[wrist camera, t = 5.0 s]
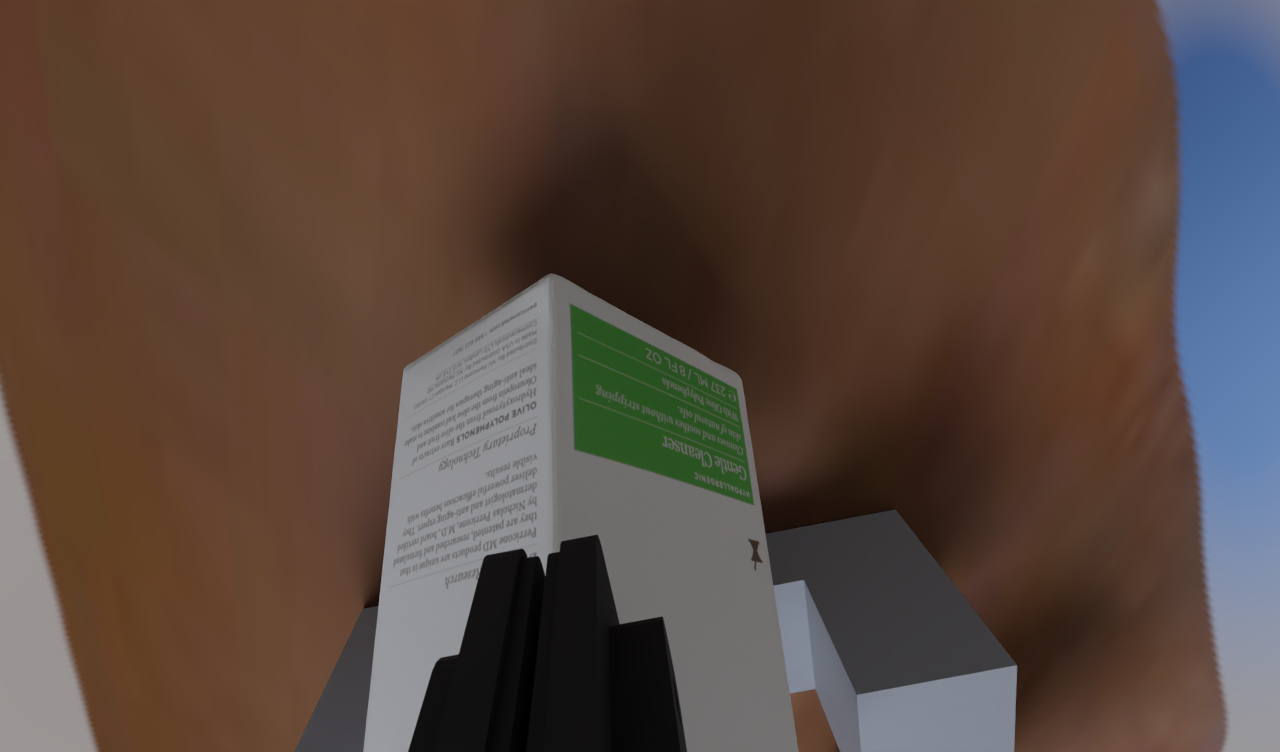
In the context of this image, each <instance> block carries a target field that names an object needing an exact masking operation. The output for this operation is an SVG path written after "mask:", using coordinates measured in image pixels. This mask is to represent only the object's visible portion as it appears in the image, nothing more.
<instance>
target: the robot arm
mask: <svg viewBox="0 0 1280 752" xmlns="http://www.w3.org/2000/svg"><path fill="white" fill-rule="evenodd" d="M408 752H687V748H686V741H685V734H684V727H683V721H682V714H681V708H680V702H679V696H678V690H677V684H676V678H675V673H674V668H673V662H672V657H671V652H670V647H669V642H668V637H667V632H666V628H665V623H664V619H663V616H662V617H656V618H651V619H646V620H640V621H635V622H629V623H624V624H620V623H619V619H618V615H617V610H616V606H615V602H614V598H613V593H612V589H611V585H610V580H609V576H608V572H607V567H606V563H605V559H604V554H603V550H602V546H601V542H600V539H599V536H598V535H592V536H587V537H581V538H576V539H571V540H565V541H562V542H561V544H560V552H555V553H550V554H548V558H547V567H546V576H545V573H544V570H543V566H542V563H541V560H540V558H539V556H534V557H527V554H526V552H525V550H524V549H517V550H512V551H506V552H501V553H495V554H490V555H486V556H485V557H484V559H483V562H482V566H481V570H480V574H479V578H478V582H477V586H476V589H475V593H474V597H473V601H472V605H471V609H470V613H469V616H468V620H467V624H466V628H465V632H464V636H463V640H462V644H461V647H460V651H459V654H457V655H452V656H447V657H441V658H440V659H439V660H438V661H437V662H436V663H435V666H434V668H433V670H432V673H431V676H430V680H429V683H428V686H427V690H426V693H425V696H424V700H423V703H422V707H421V710H420V713H419V717H418V720H417V723H416V727H415V730H414V733H413V737H412V740H411V743H410V747H409V750H408Z"/></svg>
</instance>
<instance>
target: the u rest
mask: <svg viewBox="0 0 1280 752" xmlns="http://www.w3.org/2000/svg"><path fill="white" fill-rule="evenodd" d="M766 541H767V548H768V554H769V561H770V567H771V574H772V581H773V587H774V594H775V601H776V608H777V614H778V620H779V626H780V632H781V640H782V647H783V653H784V659H785V666H786V673H787V680H788V686H789V692H790V693H796V692H801V691H806V690H812V689H816V692H817V694H818V697H819V699H820V702H821V704H822V707H823V710H824V712H825V715H826V717H827V720H828V722H829V725H830V727H831V730H832V733H833V735H834V738H835V740H836V743H837V745H838V748H839V750H840V752H1014V741H1015V713H1016V686H1017V664H1016V663H1015V662H1014V660H1013V659H1012V658H1011V657H1010V655H1009V654H1008V653H1007V651H1006V650H1005V649H1004V648H1003V646H1002V645H1001V644H1000V642H999V641H998V640H997V639H996V637H995V636H994V635H993V633H992V632H991V631H990V630H989V628H988V627H987V626H986V625H985V623H984V622H983V621H982V619H981V618H980V617H979V616H978V614H977V613H976V612H975V610H974V609H973V608H972V607H971V605H970V604H969V603H968V601H967V600H966V599H965V598H964V596H963V595H962V594H961V593H960V591H959V590H958V589H957V587H956V586H955V585H954V584H953V582H952V581H951V580H950V578H949V577H948V576H947V575H946V573H945V572H944V571H943V569H942V568H941V567H940V566H939V564H938V563H937V562H936V561H935V559H934V558H933V557H932V555H931V554H930V553H929V552H928V550H927V549H926V548H925V546H924V545H923V544H922V543H921V541H920V540H919V539H918V537H917V536H916V535H915V534H914V532H913V531H912V530H911V529H910V527H909V526H908V525H907V523H906V522H905V521H904V520H903V518H902V517H901V516H900V514H899V513H898V512H897V511H896V510H890V511H885V512H879V513H874V514H869V515H863V516H858V517H853V518H847V519H842V520H837V521H831V522H826V523H820V524H815V525H810V526H804V527H799V528H794V529H788V530H783V531H778V532H772V533H767V534H766ZM377 616H378V606H375V607H370V608H364V609H363V610H362V612H361V614H360V616H359V618H358V620H357V622H356V624H355V626H354V629H353V631H352V633H351V635H350V637H349V639H348V641H347V643H346V645H345V647H344V649H343V652H342V654H341V656H340V658H339V660H338V662H337V664H336V666H335V668H334V670H333V672H332V675H331V677H330V679H329V681H328V683H327V685H326V687H325V689H324V691H323V693H322V695H321V698H320V700H319V702H318V704H317V706H316V708H315V710H314V712H313V714H312V716H311V718H310V721H309V723H308V725H307V727H306V729H305V731H304V733H303V735H302V737H301V739H300V741H299V744H298V746H297V748H296V750H295V752H363V750H364V740H365V730H366V721H367V711H368V702H369V693H370V684H371V675H372V665H373V654H374V644H375V635H376V625H377Z"/></svg>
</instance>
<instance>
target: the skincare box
mask: <svg viewBox="0 0 1280 752" xmlns="http://www.w3.org/2000/svg"><path fill="white" fill-rule="evenodd" d="M592 535H598V536H599V539H600V542H601V546H602V550H603V554H604V559H605V563H606V567H607V572H608V576H609V580H610V585H611V589H612V593H613V598H614V602H615V606H616V610H617V615H618V619H619V623H620V624H624V623H629V622H635V621H640V620H646V619H651V618H656V617H662V616H663V619H664V623H665V628H666V632H667V637H668V642H669V647H670V652H671V657H672V662H673V668H674V673H675V678H676V684H677V690H678V696H679V702H680V708H681V714H682V721H683V727H684V734H685V741H686V748H687V752H799V751H798V746H797V739H796V732H795V725H794V718H793V711H792V704H791V698H790V692H789V686H788V680H787V673H786V666H785V659H784V653H783V647H782V640H781V632H780V626H779V620H778V614H777V608H776V601H775V594H774V587H773V581H772V574H771V567H770V561H769V554H768V548H767V541H766V534H765V527H764V521H763V514H762V507H761V501H760V494H759V488H758V482H757V476H756V469H755V462H754V455H753V448H752V442H751V436H750V430H749V425H748V417H747V409H746V403H745V396H744V390H743V384H742V380H741V378H740V376H739V375H738V374H737V373H736V372H734V371H732V370H730V369H728V368H727V367H725V366H722V365H720V364H718V363H715V362H713V361H712V360H710V359H709V358H707V357H705V356H704V355H702V354H701V353H699V352H697V351H696V350H694V349H692V348H690V347H689V346H687V345H685V344H683V343H681V342H679V341H677V340H675V339H673V338H671V337H669V336H668V335H666V334H664V333H662V332H660V331H659V330H657V329H655V328H653V327H651V326H649V325H647V324H646V323H644V322H642V321H640V320H638V319H636V318H635V317H633V316H631V315H629V314H627V313H625V312H624V311H622V310H620V309H618V308H616V307H614V306H613V305H611V304H609V303H607V302H606V301H604V300H602V299H600V298H598V297H596V296H594V295H592V294H591V293H589V292H587V291H586V290H584V289H582V288H581V287H579V286H577V285H576V284H574V283H572V282H570V281H569V280H567V279H565V278H563V277H561V276H558V275H555V274H548V275H546V276H545V277H543V278H542V279H540V280H539V281H537V282H536V283H534V284H533V285H531V286H530V287H528V288H527V289H525V290H524V291H522V292H521V293H519V294H518V295H516V296H514V297H513V298H511V299H510V300H508V301H507V302H505V303H504V304H502V305H501V306H499V307H498V308H496V309H495V310H493V311H491V312H490V313H488V314H487V315H485V316H484V317H482V318H481V319H479V320H478V321H476V322H475V323H473V324H471V325H470V326H468V327H467V328H465V329H464V330H462V331H461V332H459V333H458V334H456V335H454V336H453V337H451V338H450V339H448V340H447V341H445V342H444V343H442V344H440V345H439V346H437V347H436V348H434V349H433V350H431V351H430V352H428V353H427V354H425V355H423V356H422V357H420V358H419V359H417V360H416V361H414V362H413V363H411V364H409V365H408V366H406V367H405V369H404V371H403V380H402V389H401V398H400V407H399V417H398V427H397V436H396V444H395V453H394V463H393V473H392V482H391V493H390V503H389V511H388V521H387V530H386V540H385V549H384V559H383V568H382V578H381V587H380V597H379V606H378V616H377V625H376V635H375V644H374V654H373V665H372V675H371V684H370V693H369V702H368V711H367V721H366V730H365V740H364V750H363V752H408V750H409V747H410V743H411V740H412V737H413V733H414V730H415V727H416V723H417V720H418V717H419V713H420V710H421V707H422V703H423V700H424V696H425V693H426V690H427V686H428V683H429V680H430V676H431V673H432V670H433V668H434V666H435V663H436V662H437V661H438V660H439V659H440V658H441V657H447V656H452V655H457V654H459V651H460V647H461V644H462V640H463V636H464V632H465V628H466V624H467V620H468V616H469V613H470V609H471V605H472V601H473V597H474V593H475V589H476V586H477V582H478V578H479V574H480V570H481V566H482V562H483V559H484V557H485V556H486V555H490V554H495V553H501V552H506V551H512V550H517V549H524V550H525V552H526V554H527V557H534V556H539V558H540V560H541V563H542V566H543V570H544V573H545V576H546V567H547V558H548V554H550V553H555V552H560V544H561V542H562V541H565V540H571V539H576V538H581V537H587V536H592Z"/></svg>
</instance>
